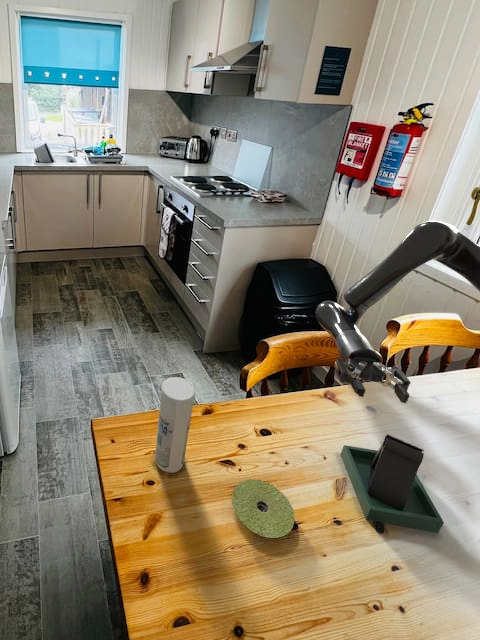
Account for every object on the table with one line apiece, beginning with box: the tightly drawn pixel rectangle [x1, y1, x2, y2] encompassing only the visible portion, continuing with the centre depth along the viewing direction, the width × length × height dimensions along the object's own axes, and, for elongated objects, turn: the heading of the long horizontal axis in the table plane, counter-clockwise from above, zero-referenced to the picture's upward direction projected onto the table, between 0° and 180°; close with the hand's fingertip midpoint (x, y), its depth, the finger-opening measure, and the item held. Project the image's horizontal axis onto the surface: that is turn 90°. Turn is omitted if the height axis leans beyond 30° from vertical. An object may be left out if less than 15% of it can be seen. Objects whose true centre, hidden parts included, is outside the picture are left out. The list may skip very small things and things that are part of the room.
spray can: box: [154, 376, 196, 474], centre depth 81 cm, size 6×6×20 cm
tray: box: [340, 444, 445, 534], centre depth 80 cm, size 13×15×3 cm
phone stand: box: [367, 433, 425, 511], centre depth 78 cm, size 9×6×12 cm, turn 144°
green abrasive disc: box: [231, 478, 295, 539], centre depth 75 cm, size 11×11×2 cm
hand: (384, 396), depth 85 cm, fingers open, 8 cm apart
